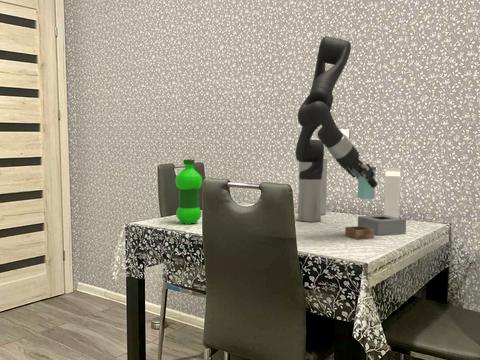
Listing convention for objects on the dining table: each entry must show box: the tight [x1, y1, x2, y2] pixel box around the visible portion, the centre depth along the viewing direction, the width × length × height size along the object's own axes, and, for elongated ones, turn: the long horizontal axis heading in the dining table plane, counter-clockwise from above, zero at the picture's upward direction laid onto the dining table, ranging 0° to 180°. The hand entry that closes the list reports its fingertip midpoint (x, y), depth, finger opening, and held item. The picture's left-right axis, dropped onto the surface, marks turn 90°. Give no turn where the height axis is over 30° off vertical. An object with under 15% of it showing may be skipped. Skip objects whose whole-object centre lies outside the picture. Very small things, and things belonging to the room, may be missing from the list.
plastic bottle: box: [174, 158, 203, 225], centre depth 186 cm, size 10×10×25 cm
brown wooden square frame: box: [344, 225, 375, 240], centre depth 163 cm, size 7×7×3 cm
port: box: [357, 214, 407, 237], centre depth 173 cm, size 12×12×5 cm
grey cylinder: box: [297, 158, 328, 216], centre depth 215 cm, size 12×12×25 cm
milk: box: [383, 167, 402, 218], centre depth 199 cm, size 6×6×22 cm
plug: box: [357, 166, 377, 200], centre depth 164 cm, size 4×4×11 cm
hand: (371, 185), depth 165 cm, fingers closed on plug, 4 cm apart
